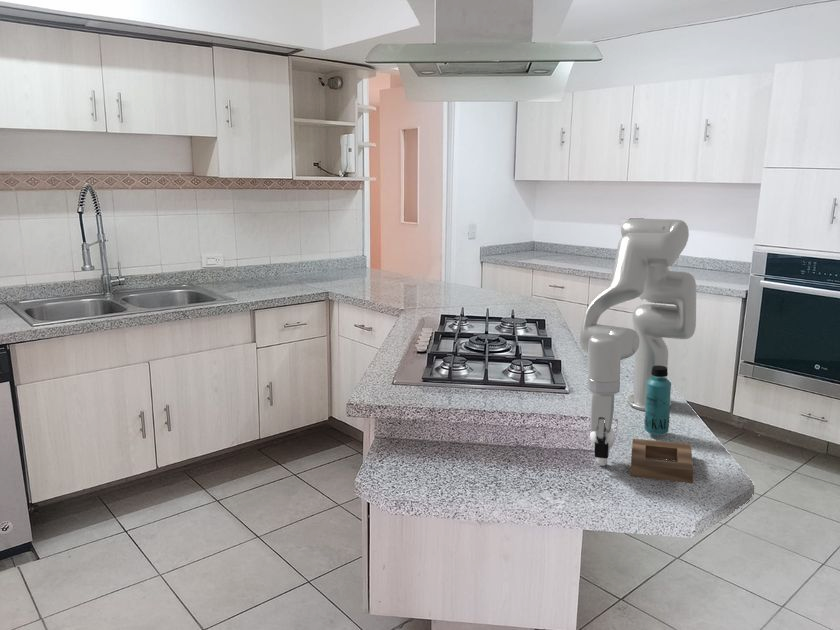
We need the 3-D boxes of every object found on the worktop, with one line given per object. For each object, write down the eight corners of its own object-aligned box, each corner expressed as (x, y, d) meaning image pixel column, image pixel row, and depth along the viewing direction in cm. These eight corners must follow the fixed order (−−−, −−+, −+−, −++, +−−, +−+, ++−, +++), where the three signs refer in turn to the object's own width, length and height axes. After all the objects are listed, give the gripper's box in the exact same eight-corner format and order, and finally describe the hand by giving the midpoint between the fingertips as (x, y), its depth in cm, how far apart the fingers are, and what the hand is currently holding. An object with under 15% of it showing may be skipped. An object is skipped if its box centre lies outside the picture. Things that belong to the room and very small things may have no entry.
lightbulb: (617, 462, 162) (618, 422, 159) (611, 473, 157) (612, 432, 154) (593, 457, 165) (594, 418, 162) (586, 468, 160) (587, 428, 157)
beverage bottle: (648, 428, 180) (651, 361, 175) (672, 433, 176) (676, 365, 171) (640, 436, 175) (642, 368, 170) (664, 442, 171) (667, 372, 166)
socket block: (632, 450, 168) (632, 438, 167) (689, 456, 163) (690, 444, 162) (630, 476, 155) (630, 463, 154) (692, 483, 150) (693, 470, 149)
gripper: (591, 371, 164) (590, 435, 169) (584, 396, 149) (583, 465, 153) (621, 373, 162) (619, 438, 166) (617, 398, 146) (615, 469, 151)
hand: (602, 450), depth 160 cm, fingers closed on lightbulb, 5 cm apart
